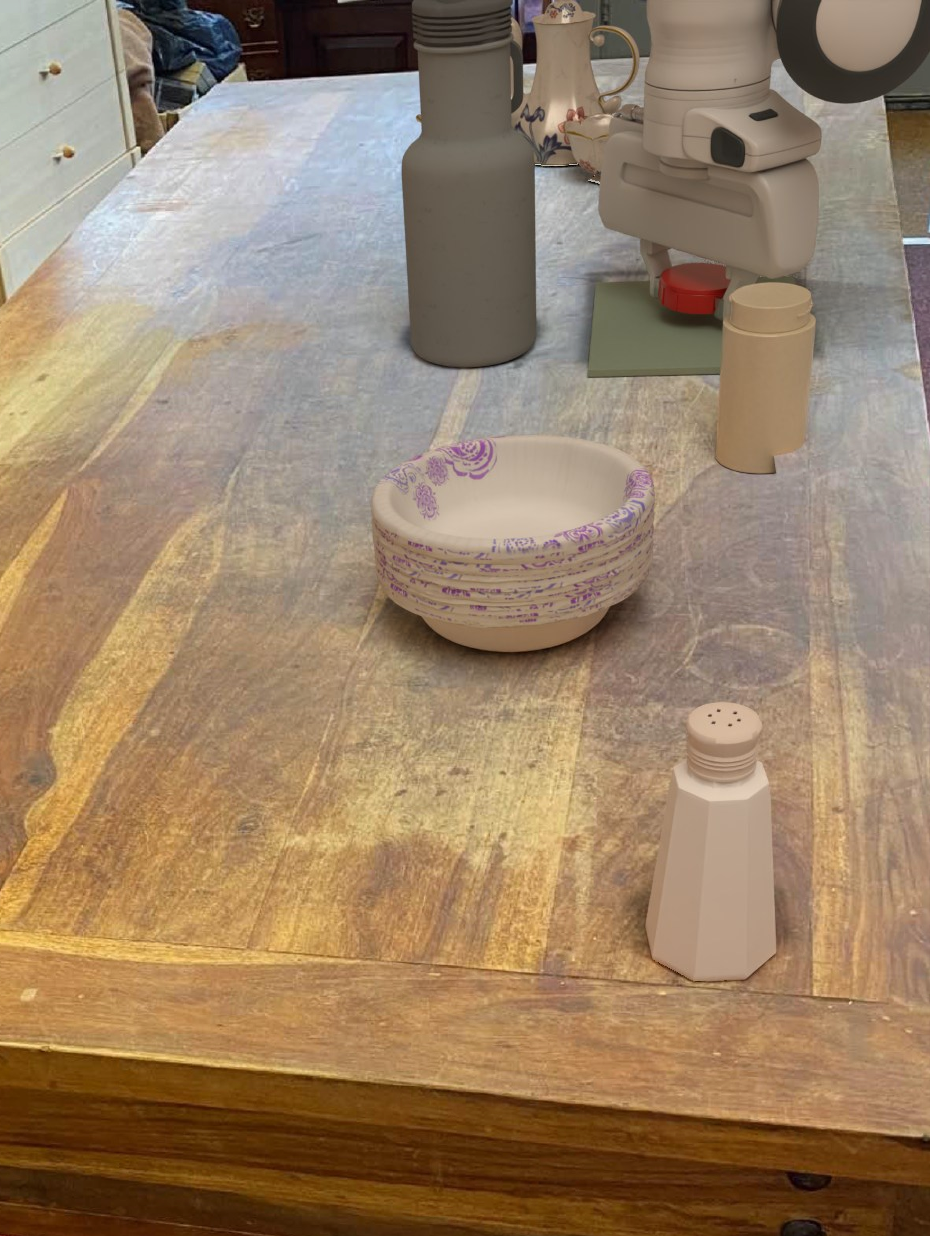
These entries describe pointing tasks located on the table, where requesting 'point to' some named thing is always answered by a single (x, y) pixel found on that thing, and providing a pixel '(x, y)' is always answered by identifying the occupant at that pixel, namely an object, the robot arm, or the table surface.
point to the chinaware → (567, 90)
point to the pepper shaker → (715, 853)
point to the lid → (692, 287)
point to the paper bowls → (514, 538)
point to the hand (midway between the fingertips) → (696, 308)
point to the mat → (652, 334)
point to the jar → (764, 375)
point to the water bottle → (469, 190)
